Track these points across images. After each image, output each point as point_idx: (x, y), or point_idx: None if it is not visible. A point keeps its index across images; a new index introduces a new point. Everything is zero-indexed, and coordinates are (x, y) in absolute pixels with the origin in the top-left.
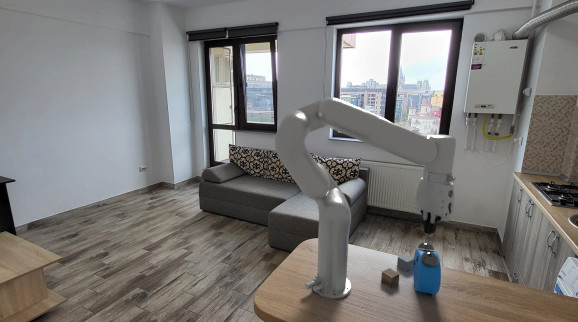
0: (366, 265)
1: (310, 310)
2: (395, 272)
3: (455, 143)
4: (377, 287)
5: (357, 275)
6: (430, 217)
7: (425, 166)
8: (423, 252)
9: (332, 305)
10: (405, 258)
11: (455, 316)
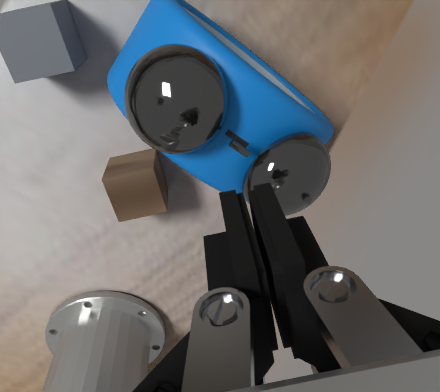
0: (9, 192)
1: None
2: (140, 178)
3: None
4: (151, 224)
5: (70, 250)
6: (259, 338)
7: None
8: (220, 162)
9: None
10: (38, 54)
11: (369, 80)
